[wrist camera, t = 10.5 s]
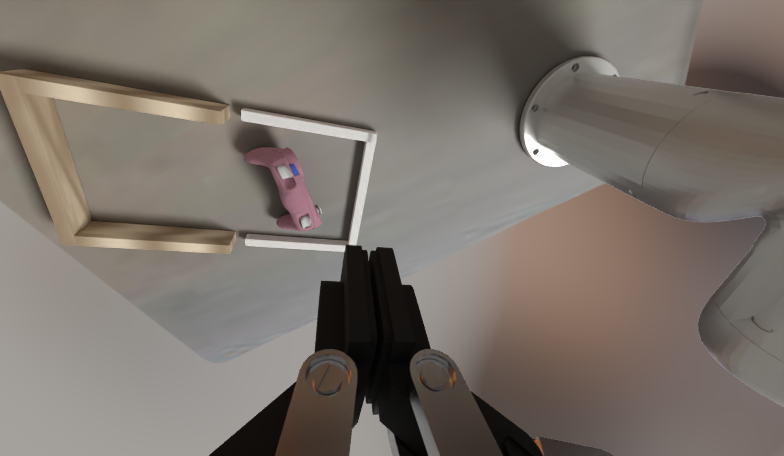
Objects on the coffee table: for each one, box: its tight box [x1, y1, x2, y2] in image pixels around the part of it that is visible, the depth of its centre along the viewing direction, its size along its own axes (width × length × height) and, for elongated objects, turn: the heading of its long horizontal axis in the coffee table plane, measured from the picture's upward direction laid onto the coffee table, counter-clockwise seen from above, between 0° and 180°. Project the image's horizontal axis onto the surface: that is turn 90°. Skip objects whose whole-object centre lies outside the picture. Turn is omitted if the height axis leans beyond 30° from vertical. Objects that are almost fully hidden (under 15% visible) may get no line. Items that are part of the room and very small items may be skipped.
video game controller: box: [244, 147, 322, 231], centre depth 32 cm, size 10×5×7 cm, turn 11°
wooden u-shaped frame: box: [0, 69, 236, 254], centre depth 30 cm, size 15×16×3 cm
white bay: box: [241, 108, 377, 252], centre depth 35 cm, size 14×16×1 cm
